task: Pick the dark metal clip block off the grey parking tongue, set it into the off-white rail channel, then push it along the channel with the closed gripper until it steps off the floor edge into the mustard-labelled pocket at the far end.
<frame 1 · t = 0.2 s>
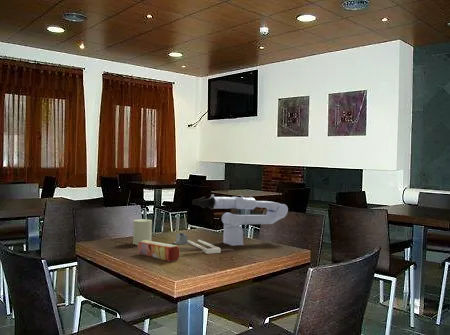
hand: (195, 202, 205), 21 cm above the table, tool horizontal, fingers open, 7 cm apart
snack package: (157, 258, 181), on the table
can: (142, 243, 212), on the table
parking tongue: (181, 244, 211), on the table
rail: (202, 248, 203), on the table
clip block: (181, 242, 211), point 1 cm above the table, touching parking tongue
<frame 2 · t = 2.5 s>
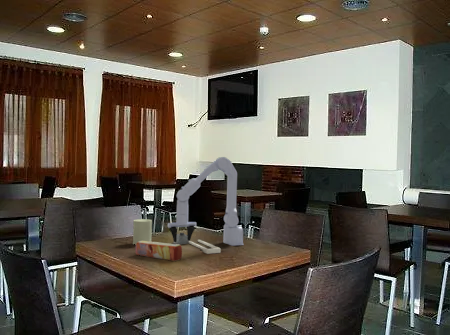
hand: (181, 241, 211), 2 cm above the table, tool pointing down, fingers open, 7 cm apart
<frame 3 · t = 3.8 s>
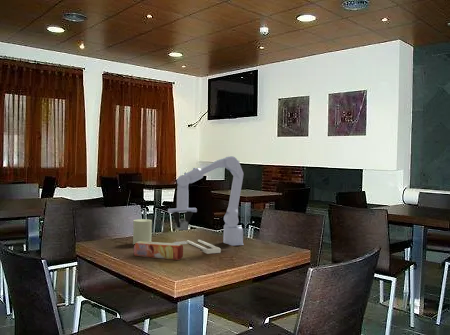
hand: (182, 227, 211), 9 cm above the table, tool pointing down, fingers closed on clip block, 4 cm apart
clip block: (182, 229, 211), point 8 cm above the table, touching gripper
when the fingers open (2 cm above the table, at t = 5.5 s): clip block stays where it is, resting on rail.
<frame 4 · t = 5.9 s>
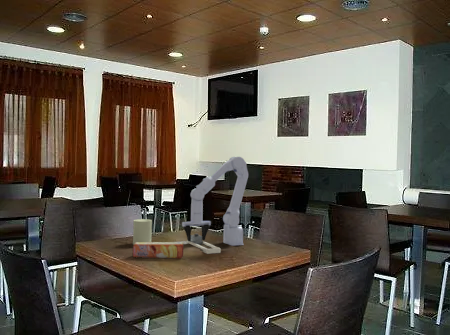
hand: (196, 240, 210), 2 cm above the table, tool pointing down, fingers open, 7 cm apart
clip block: (196, 243, 210), point 1 cm above the table, touching rail
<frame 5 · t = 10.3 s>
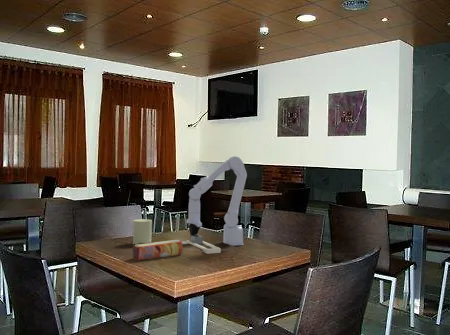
hand: (193, 239, 213), 2 cm above the table, tool pointing down, fingers closed
clip block: (196, 243, 209), point 1 cm above the table, touching gripper
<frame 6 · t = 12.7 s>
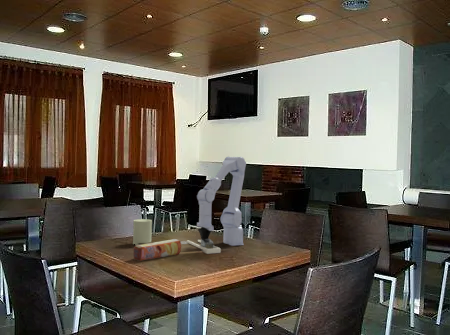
hand: (204, 243, 201), 2 cm above the table, tool pointing down, fingers closed, pressing on clip block
clip block: (206, 248, 198), point 1 cm above the table, tilted 10°, touching gripper, rail
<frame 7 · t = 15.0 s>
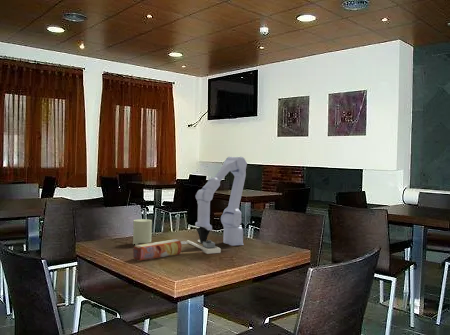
hand: (203, 243, 203), 2 cm above the table, tool pointing down, fingers closed
clip block: (208, 250, 196), resting on rail
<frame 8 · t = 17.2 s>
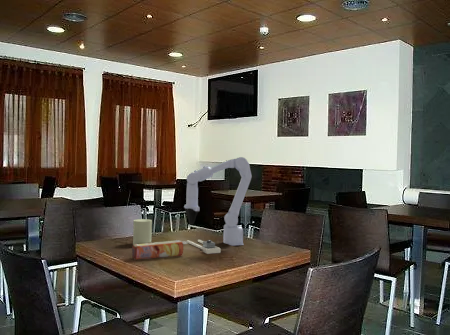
hand: (191, 224, 213), 10 cm above the table, tool pointing down, fingers closed
at the end: clip block 0.4 cm from the target spot on the rail, point 0.2 cm above the rail's base; the gripper is holding nothing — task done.
